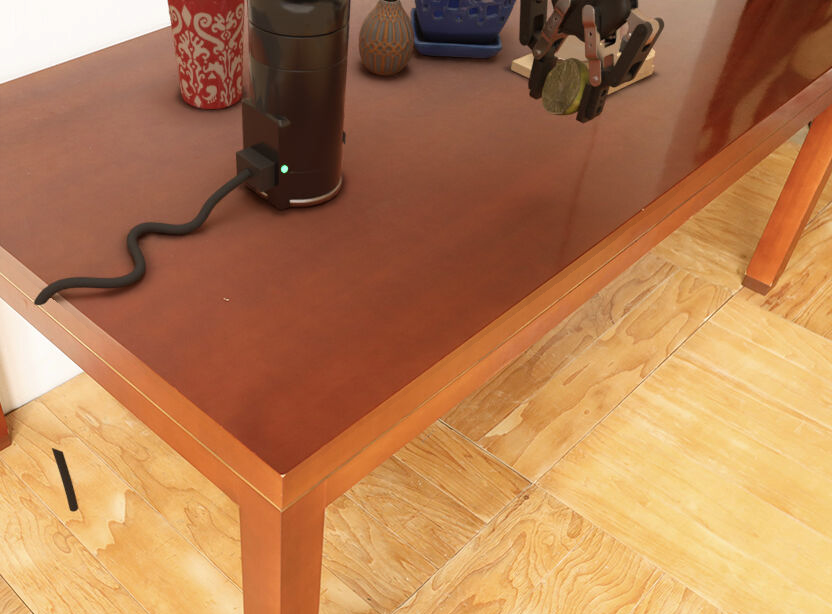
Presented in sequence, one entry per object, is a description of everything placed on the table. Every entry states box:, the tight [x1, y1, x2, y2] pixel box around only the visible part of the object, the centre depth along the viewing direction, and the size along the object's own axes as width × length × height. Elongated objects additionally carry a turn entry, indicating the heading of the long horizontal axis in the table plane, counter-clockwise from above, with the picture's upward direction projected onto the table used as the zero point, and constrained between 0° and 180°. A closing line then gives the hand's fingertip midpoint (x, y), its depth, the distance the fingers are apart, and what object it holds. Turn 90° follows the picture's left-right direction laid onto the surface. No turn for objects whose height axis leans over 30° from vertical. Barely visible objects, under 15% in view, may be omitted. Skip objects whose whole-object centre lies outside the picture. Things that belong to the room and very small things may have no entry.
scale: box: [510, 39, 656, 96], centre depth 109 cm, size 14×12×3 cm
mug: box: [167, 0, 246, 110], centre depth 98 cm, size 13×9×14 cm
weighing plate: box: [554, 35, 589, 63], centre depth 107 cm, size 8×8×1 cm
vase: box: [358, 0, 415, 77], centre depth 105 cm, size 7×7×9 cm
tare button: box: [619, 34, 628, 53], centre depth 108 cm, size 3×3×2 cm
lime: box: [541, 58, 589, 116], centre depth 79 cm, size 4×5×5 cm
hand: (561, 107), depth 81 cm, fingers closed on lime, 5 cm apart
